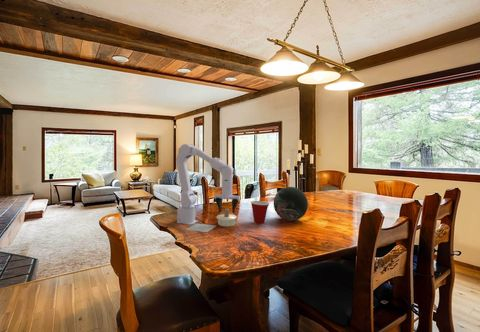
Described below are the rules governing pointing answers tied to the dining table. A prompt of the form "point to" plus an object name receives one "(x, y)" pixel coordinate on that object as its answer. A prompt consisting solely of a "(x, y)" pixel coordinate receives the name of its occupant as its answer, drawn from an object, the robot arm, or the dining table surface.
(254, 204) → the plastic cup
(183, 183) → the robot arm
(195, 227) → the mat
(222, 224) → the bowl
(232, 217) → the lid
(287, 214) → the decorative sphere
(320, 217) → the dining table surface
